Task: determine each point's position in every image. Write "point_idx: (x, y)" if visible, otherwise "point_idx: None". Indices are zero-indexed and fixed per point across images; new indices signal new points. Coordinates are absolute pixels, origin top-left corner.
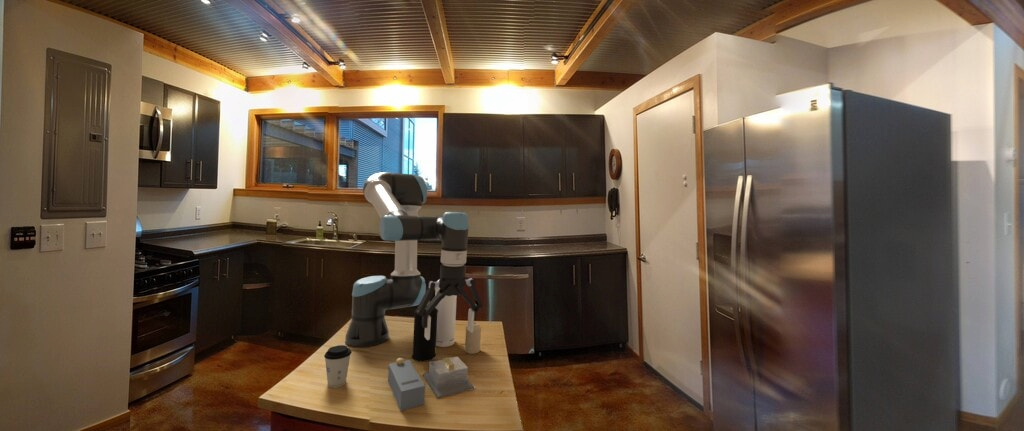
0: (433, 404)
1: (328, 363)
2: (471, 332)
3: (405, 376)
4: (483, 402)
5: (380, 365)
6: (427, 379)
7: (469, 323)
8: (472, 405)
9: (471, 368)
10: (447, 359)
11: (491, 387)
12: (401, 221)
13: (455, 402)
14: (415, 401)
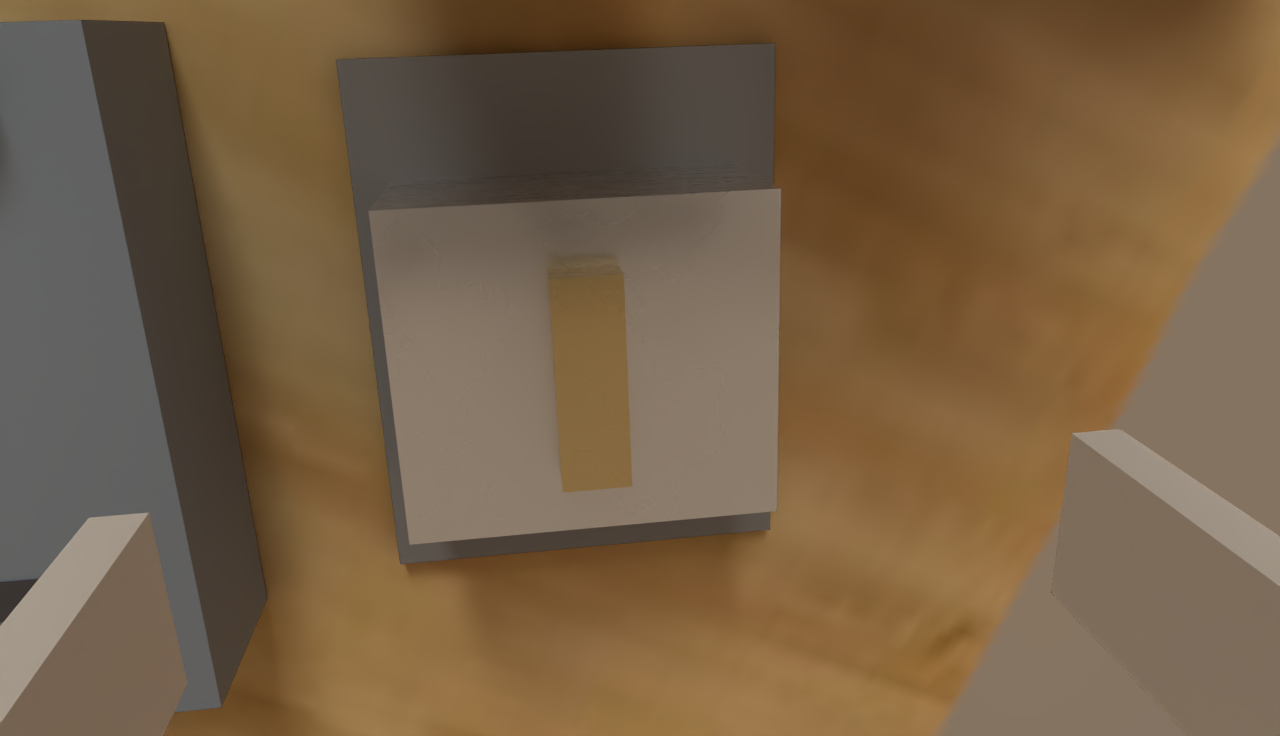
0: (348, 619)
1: None
2: (1062, 591)
3: (10, 466)
4: (745, 717)
5: None
6: (365, 231)
7: (1157, 598)
8: (649, 724)
9: (916, 147)
10: (597, 327)
11: (910, 554)
12: None
13: (535, 651)
14: None
